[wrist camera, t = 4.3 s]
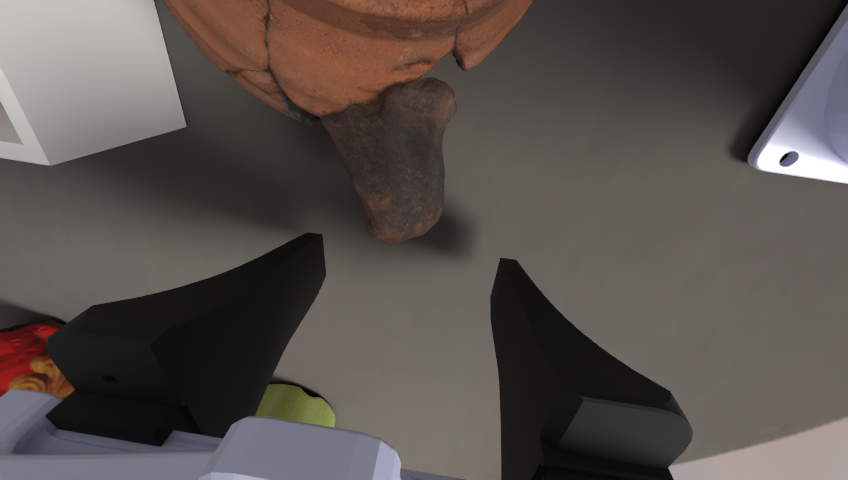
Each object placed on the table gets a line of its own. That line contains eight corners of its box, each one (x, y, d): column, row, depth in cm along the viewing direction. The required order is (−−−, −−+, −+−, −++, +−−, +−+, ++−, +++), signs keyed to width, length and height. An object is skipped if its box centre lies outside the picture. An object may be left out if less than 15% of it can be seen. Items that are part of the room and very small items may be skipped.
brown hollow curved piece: (156, -113, 10) (-558, -1320, 2) (440, -135, 12) (654, -782, 4) (296, 253, 13) (234, 362, 5) (508, 185, 14) (713, 183, 7)
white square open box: (140, -53, 10) (-97, -125, 6) (186, 127, 13) (51, 165, 9) (-24, -75, 10) (-368, -161, 6) (57, 106, 13) (-138, 135, 9)
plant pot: (375, 444, 24) (336, 617, 17) (267, 443, 26) (189, 599, 19) (332, 361, 20) (253, 549, 12) (205, 368, 22) (71, 534, 14)
